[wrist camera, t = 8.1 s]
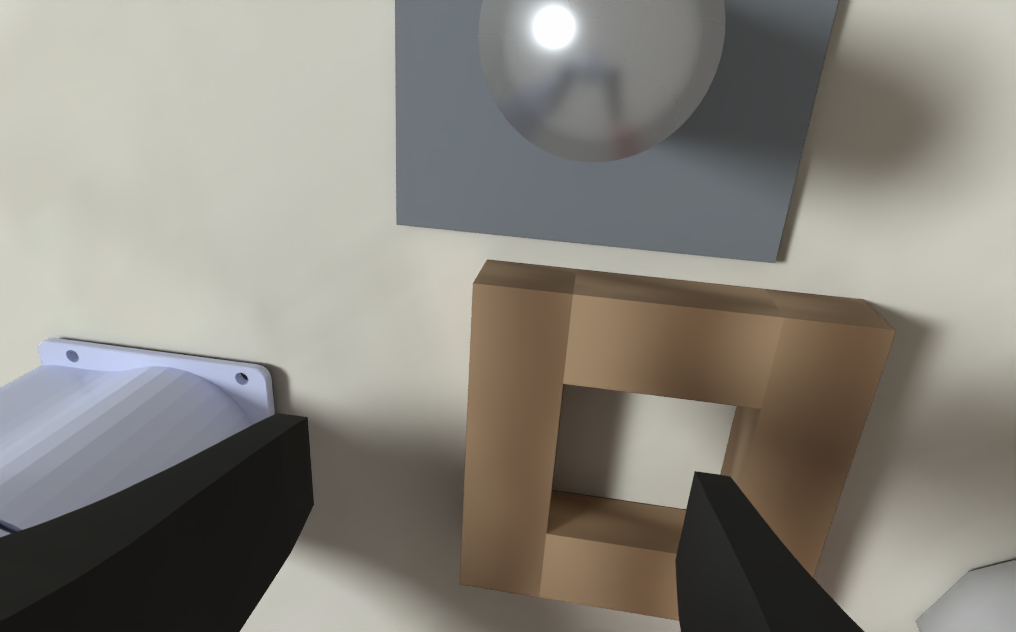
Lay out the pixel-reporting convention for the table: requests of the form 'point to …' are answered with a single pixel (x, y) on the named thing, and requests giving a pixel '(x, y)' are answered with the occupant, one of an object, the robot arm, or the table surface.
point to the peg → (599, 70)
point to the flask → (976, 603)
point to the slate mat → (620, 183)
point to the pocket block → (662, 372)
